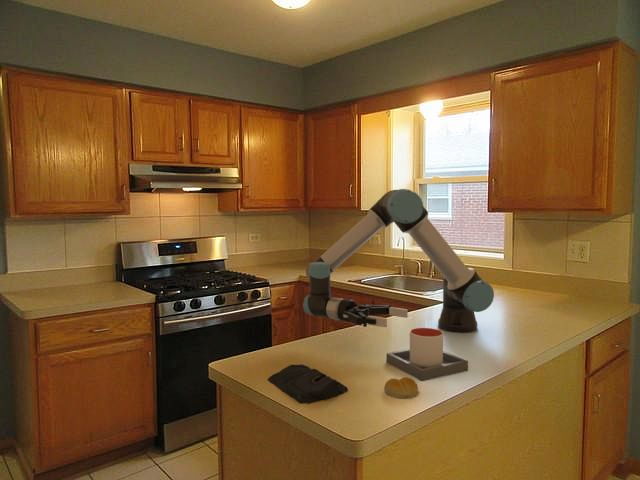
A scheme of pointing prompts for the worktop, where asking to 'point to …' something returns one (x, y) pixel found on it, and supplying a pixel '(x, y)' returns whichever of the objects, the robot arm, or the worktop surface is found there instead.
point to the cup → (426, 347)
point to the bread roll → (401, 388)
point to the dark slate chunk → (306, 384)
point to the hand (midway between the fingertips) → (397, 318)
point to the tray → (447, 367)
